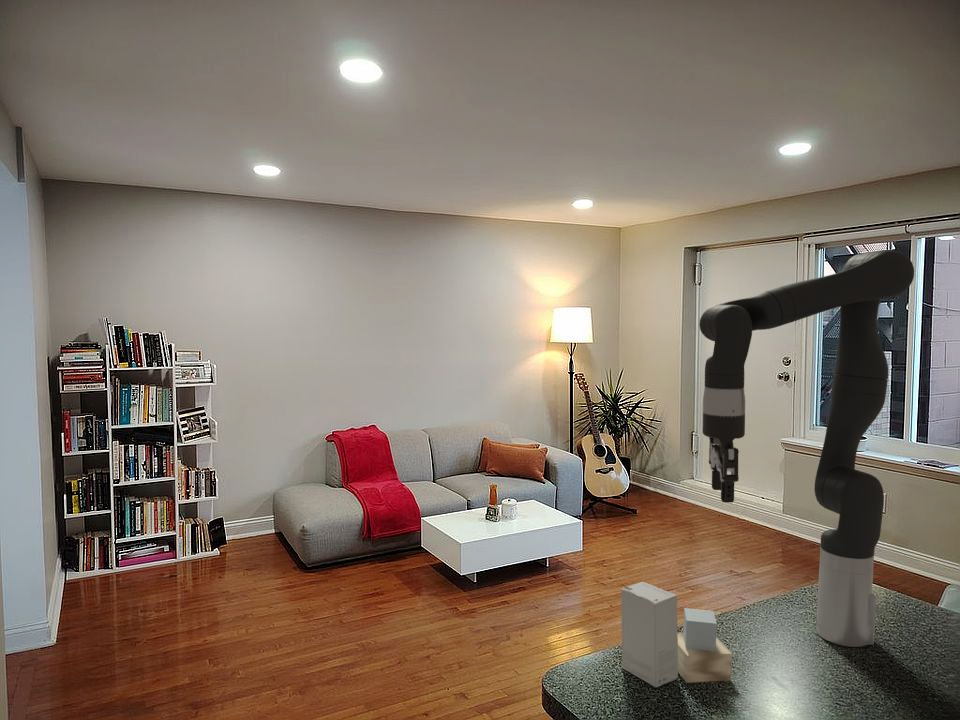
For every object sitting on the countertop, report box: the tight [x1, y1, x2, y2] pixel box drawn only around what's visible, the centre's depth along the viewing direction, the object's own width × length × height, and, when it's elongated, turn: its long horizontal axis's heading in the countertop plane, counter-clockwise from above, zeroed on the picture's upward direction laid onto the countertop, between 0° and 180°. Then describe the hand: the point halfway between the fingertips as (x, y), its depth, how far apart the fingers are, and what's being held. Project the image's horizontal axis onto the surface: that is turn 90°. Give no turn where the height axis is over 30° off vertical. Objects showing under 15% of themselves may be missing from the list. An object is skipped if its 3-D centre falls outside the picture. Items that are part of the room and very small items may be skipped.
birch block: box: [677, 632, 733, 683], centre depth 120 cm, size 8×8×5 cm
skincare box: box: [620, 581, 679, 688], centre depth 117 cm, size 8×6×15 cm
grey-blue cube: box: [682, 607, 718, 652], centre depth 119 cm, size 5×5×5 cm
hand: (722, 495), depth 128 cm, fingers open, 8 cm apart
